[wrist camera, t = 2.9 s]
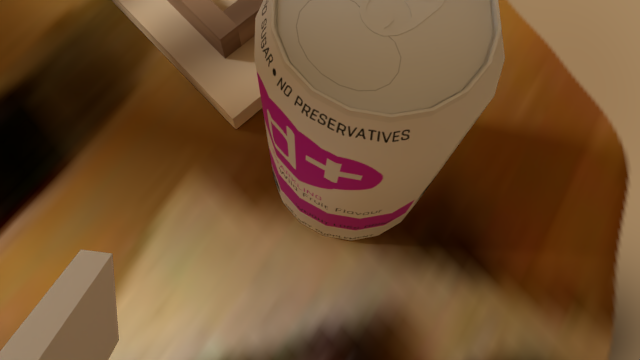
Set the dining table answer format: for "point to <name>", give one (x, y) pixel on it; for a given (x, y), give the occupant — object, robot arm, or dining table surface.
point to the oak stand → (207, 47)
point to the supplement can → (370, 101)
